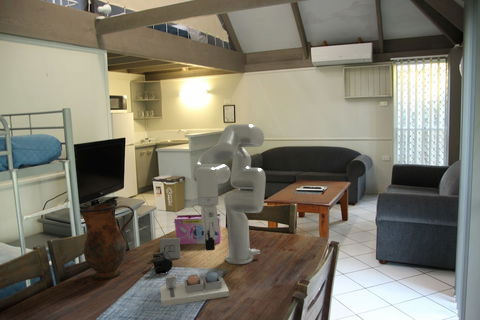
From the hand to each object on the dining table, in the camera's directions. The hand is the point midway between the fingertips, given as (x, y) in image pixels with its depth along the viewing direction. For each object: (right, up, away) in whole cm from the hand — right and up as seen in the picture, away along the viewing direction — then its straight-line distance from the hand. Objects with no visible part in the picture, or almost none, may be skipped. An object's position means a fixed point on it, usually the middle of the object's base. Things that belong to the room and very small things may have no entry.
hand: (210, 249), depth 141 cm
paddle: (-15, -14, +1) cm, 20 cm away
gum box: (-10, -10, +59) cm, 61 cm away
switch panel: (-6, -17, +1) cm, 18 cm away
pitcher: (-43, -16, +21) cm, 51 cm away
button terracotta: (-6, -13, 0) cm, 14 cm away
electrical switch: (-22, -13, +39) cm, 46 cm away
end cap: (-22, -15, +24) cm, 36 cm away
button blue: (+1, -12, +2) cm, 12 cm away
